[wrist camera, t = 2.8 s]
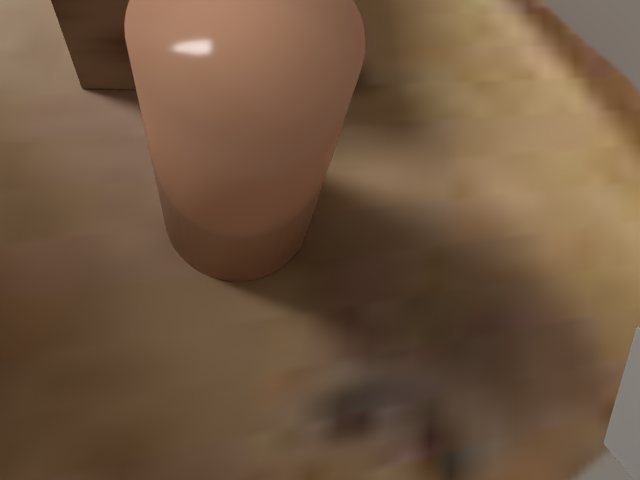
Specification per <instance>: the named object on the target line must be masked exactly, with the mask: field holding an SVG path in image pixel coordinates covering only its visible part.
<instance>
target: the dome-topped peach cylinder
mask: <svg viewBox="0 0 640 480" xmlns="http://www.w3.org/2000/svg"><path fill="white" fill-rule="evenodd" d="M124 27H125V40H126V44H127V49H128V54H129V58H130V63H131V68H132V72H133V77H134V81H135V86H136V91H137V95H138V100H139V105H140V109H141V114H142V118H143V123H144V128H145V132H146V137H147V142H148V146H149V151H150V155H151V160H152V165H153V169H154V174H155V179H156V183H157V188H158V192H159V197H160V202H161V206H162V211H163V216H164V220H165V225H166V230H167V233H168V236H169V239H170V241H171V243H172V245H173V246H174V248H175V250H176V251H177V252H178V254H179V255H180V256H181V257H182V258H183V259H184V260H185V261H186V262H187V263H188V264H189V265H191V266H192V267H193V268H195V269H196V270H198V271H200V272H202V273H204V274H206V275H208V276H211V277H214V278H217V279H221V280H227V281H249V280H254V279H259V278H262V277H265V276H268V275H270V274H272V273H274V272H276V271H278V270H279V269H280V268H282V267H283V266H285V265H286V264H287V263H288V262H289V261H290V260H291V259H292V258H293V257H294V256H295V255H296V253H297V252H298V250H299V249H300V247H301V246H302V244H303V241H304V239H305V237H306V234H307V231H308V228H309V225H310V222H311V219H312V216H313V213H314V210H315V207H316V204H317V201H318V198H319V195H320V192H321V189H322V186H323V183H324V180H325V177H326V174H327V171H328V168H329V165H330V162H331V159H332V156H333V153H334V150H335V147H336V144H337V141H338V138H339V135H340V132H341V129H342V126H343V123H344V120H345V117H346V114H347V111H348V108H349V105H350V102H351V99H352V96H353V93H354V90H355V87H356V84H357V81H358V78H359V75H360V72H361V68H362V65H363V61H364V57H365V49H366V37H365V29H364V25H363V20H362V17H361V15H360V12H359V9H358V7H357V5H356V4H355V2H354V0H129V3H128V6H127V10H126V15H125V23H124Z"/></svg>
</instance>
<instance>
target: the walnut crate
mask: <svg viewBox="0 0 640 480" xmlns="http://www.w3.org/2000/svg"><path fill="white" fill-rule="evenodd" d="M51 1H52V4H53V7H54V10H55V13H56V16H57V18H58V21H59V24H60V27H61V30H62V33H63V35H64V38H65V41H66V44H67V47H68V50H69V53H70V55H71V58H72V61H73V64H74V67H75V70H76V72H77V75H78V78H79V81H80V84H81V87H82V88H84V89H136V86H135V81H134V77H133V72H132V68H131V63H130V58H129V54H128V49H127V44H126V40H125V27H124V23H125V15H126V10H127V6H128V3H129V0H51Z"/></svg>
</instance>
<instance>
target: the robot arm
mask: <svg viewBox="0 0 640 480" xmlns="http://www.w3.org/2000/svg"><path fill="white" fill-rule="evenodd" d="M603 444H604V445H605V446H606V447H607V448H608V450H609V451H610V452H611V453H612V454H613V455H614V457H615V458H616V459H617V460H618V461H619V462H620V464H621V465H622V466H623V467H624V469H625V470H626V471H627V472H628V473H629V474H630V476H631V477H632V478H633V479H634V480H640V327H637V328H636V331H635V335H634V338H633V342H632V345H631V349H630V352H629V356H628V359H627V362H626V366H625V369H624V373H623V376H622V380H621V383H620V387H619V390H618V394H617V397H616V401H615V404H614V408H613V411H612V415H611V418H610V422H609V425H608V429H607V432H606V436H605V439H604V442H603Z"/></svg>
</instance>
